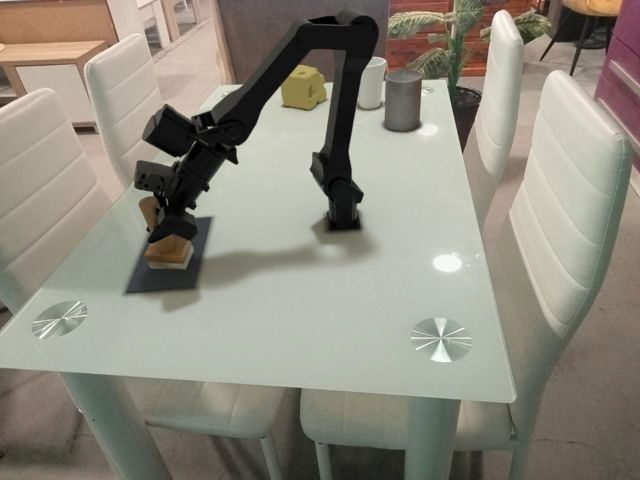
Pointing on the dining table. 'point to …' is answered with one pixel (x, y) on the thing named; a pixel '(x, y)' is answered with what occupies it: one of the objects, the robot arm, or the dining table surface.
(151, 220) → the scrub brush
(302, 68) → the cheese
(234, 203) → the dining table surface
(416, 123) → the pillar candle
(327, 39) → the robot arm
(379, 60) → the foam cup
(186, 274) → the stain mat
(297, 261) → the dining table surface
